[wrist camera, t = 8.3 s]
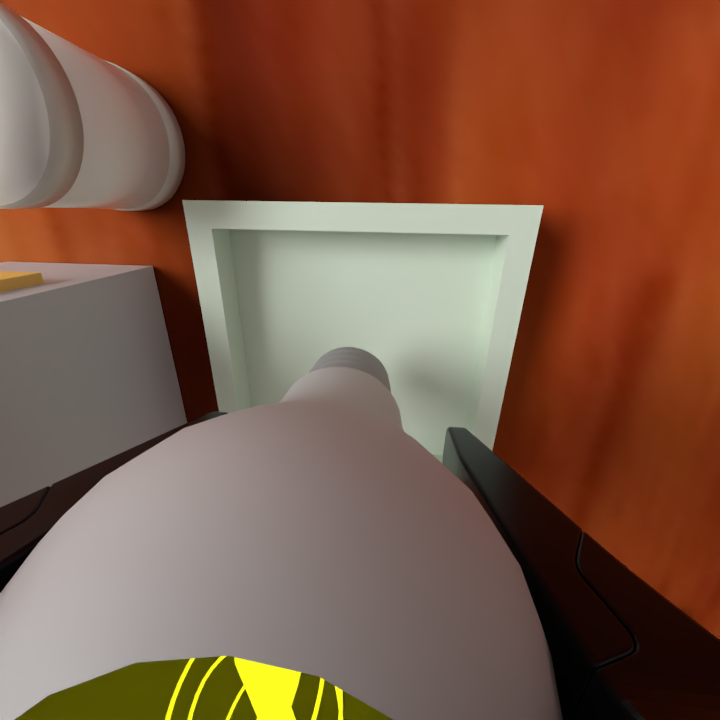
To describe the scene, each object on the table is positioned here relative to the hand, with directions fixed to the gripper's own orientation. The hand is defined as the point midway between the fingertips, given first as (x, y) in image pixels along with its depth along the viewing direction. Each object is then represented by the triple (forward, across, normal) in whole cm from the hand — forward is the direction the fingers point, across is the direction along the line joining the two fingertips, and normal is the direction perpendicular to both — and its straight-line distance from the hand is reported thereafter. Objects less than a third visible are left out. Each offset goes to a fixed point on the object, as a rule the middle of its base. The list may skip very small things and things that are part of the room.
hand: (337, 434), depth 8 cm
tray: (+6, 0, 0) cm, 6 cm away
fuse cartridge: (+6, +8, -7) cm, 12 cm away
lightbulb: (+4, 0, 0) cm, 4 cm away
